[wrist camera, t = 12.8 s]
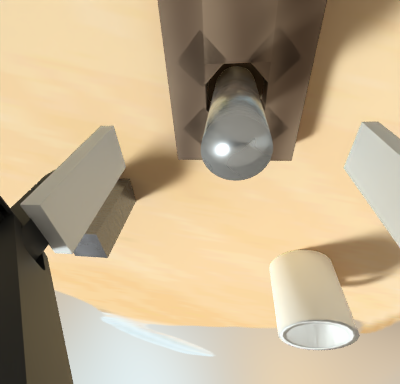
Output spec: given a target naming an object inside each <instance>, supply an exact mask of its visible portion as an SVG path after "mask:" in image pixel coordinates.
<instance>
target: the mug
mask: <svg viewBox="0 0 400 384" xmlns="http://www.w3.org/2000/svg"><path fill="white" fill-rule="evenodd" d="M270 277H271V284H272V291H273V299H274V306H275V313H276V321H277V328H278V335H279V338H280V339H281V340H282V341H283V342H284V343H286V344H288V345H290V346H293V347H297V348H302V349H307V350H331V349H337V348H342V347H345V346H348V345H351V344H352V343H354V342H355V341H357V339H358V337H359V332H358V330H357V327H356V324H355V322H354V319H353V316H352V314H351V311H350V309H349V306H348V303H347V301H346V298H345V296H344V293H343V290H342V288H341V285H340V283H339V280H338V277H337V275H336V272H335V270H334V267H333V264H332V262H331V259H330V258H328V257H327V256H326V255H325V254H323V253H320V252H318V251H313V250H294V251H289V252H286V253H284V254H281V255H279V256H277V257H276V258H275V259H274V260H273V261H272V262H271V264H270Z"/></svg>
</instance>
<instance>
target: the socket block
mask: <svg viewBox="0 0 400 384" xmlns="http://www.w3.org/2000/svg"><path fill="white" fill-rule="evenodd" d="M326 2H327V0H158V7H159V15H160V22H161V30H162V38H163V46H164V53H165V61H166V69H167V77H168V84H169V92H170V100H171V108H172V115H173V123H174V131H175V139H176V146H177V154H178V160H203V159H202V156H201V143H202V139H203V135H204V130H205V126H206V122H207V118H208V114H209V109H210V105H211V102H210V101H209V89H208V81H209V80H210V79H211V77H212V76H213V75H214V74H215V73H216V72H217V71H218V69H219V68H220V67H221V66H222V65H223V64H229V63H252V64H253V66H254V67H255V68H256V69H257V70H258V71H259V73H260V74H261V75H262V76H263V77H264V85H263V95H262V100H261V103H262V106H263V110H264V113H265V117H266V120H267V124H268V127H269V131H270V134H271V138H272V142H273V153H272V157H271V159H270V161H292V156H293V152H294V147H295V143H296V138H297V134H298V129H299V125H300V120H301V116H302V111H303V106H304V102H305V97H306V93H307V88H308V84H309V79H310V75H311V70H312V66H313V61H314V57H315V52H316V48H317V43H318V39H319V34H320V30H321V25H322V20H323V16H324V11H325V7H326Z"/></svg>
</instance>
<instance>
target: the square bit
mask: <svg viewBox="0 0 400 384" xmlns="http://www.w3.org/2000/svg"><path fill="white" fill-rule="evenodd" d="M135 202H136V200H135V196H134V193H133V189H132V186H131V183H130V179H118V181H117V182H116V184H115V186H114V187H113V189H112V190H111V192H110V194H109V195H108V197H107V199H106V200H105V202H104V203H103V205H102V207H101V208H100V210H99V211H98V213H97V215H96V216H95V218H94V220H93V221H92V223H91V224H90V226H89V228H88V229H87V231H86V232H85V234H84V236H83V237H82V239H81V241H80V242H79V244H78V245H77V247H76V249H75V250H74V252H73V253H74V254H75V256H88V257H103V258H108V256H109V254H110V252H111V250H112V248H113V246H114V244H115V242H116V240H117V238H118V236H119V234H120V232H121V230H122V228H123V226H124V224H125V222H126V220H127V218H128V216H129V214H130V212H131V210H132V208H133V206H134V204H135Z"/></svg>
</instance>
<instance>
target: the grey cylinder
mask: <svg viewBox="0 0 400 384" xmlns="http://www.w3.org/2000/svg"><path fill="white" fill-rule="evenodd" d="M272 153H273V142H272V138H271V134H270V131H269V127H268V124H267V120H266V117H265V113H264V110H263V106H262V103H261V100H260V96H259V93H258V89H257V86H256V82H255V79H254V77H253V75H252V73H251V72H250V71H249V70H248V69H246V68H244V67H241V66H232V67H229V68H227V69H225V70H224V71H223V72H222V73H221V74H220V75H219V77H218V79H217V81H216V84H215V88H214V93H213V97H212V101H211V105H210V109H209V114H208V118H207V122H206V126H205V130H204V135H203V139H202V143H201V156H202V159H203V162H204V164H205V165H206V167H207V168H208V169H209V170H210V171H211V172H212V173H214V174H215V175H217V176H218V177H221V178H223V179H227V180H244V179H248V178H251V177H253V176H255V175H257V174H258V173H260V172H261V171H262V170H263V169H264V168H265V167H266V166H267V164H268V163H269V161H270V159H271V157H272Z"/></svg>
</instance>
